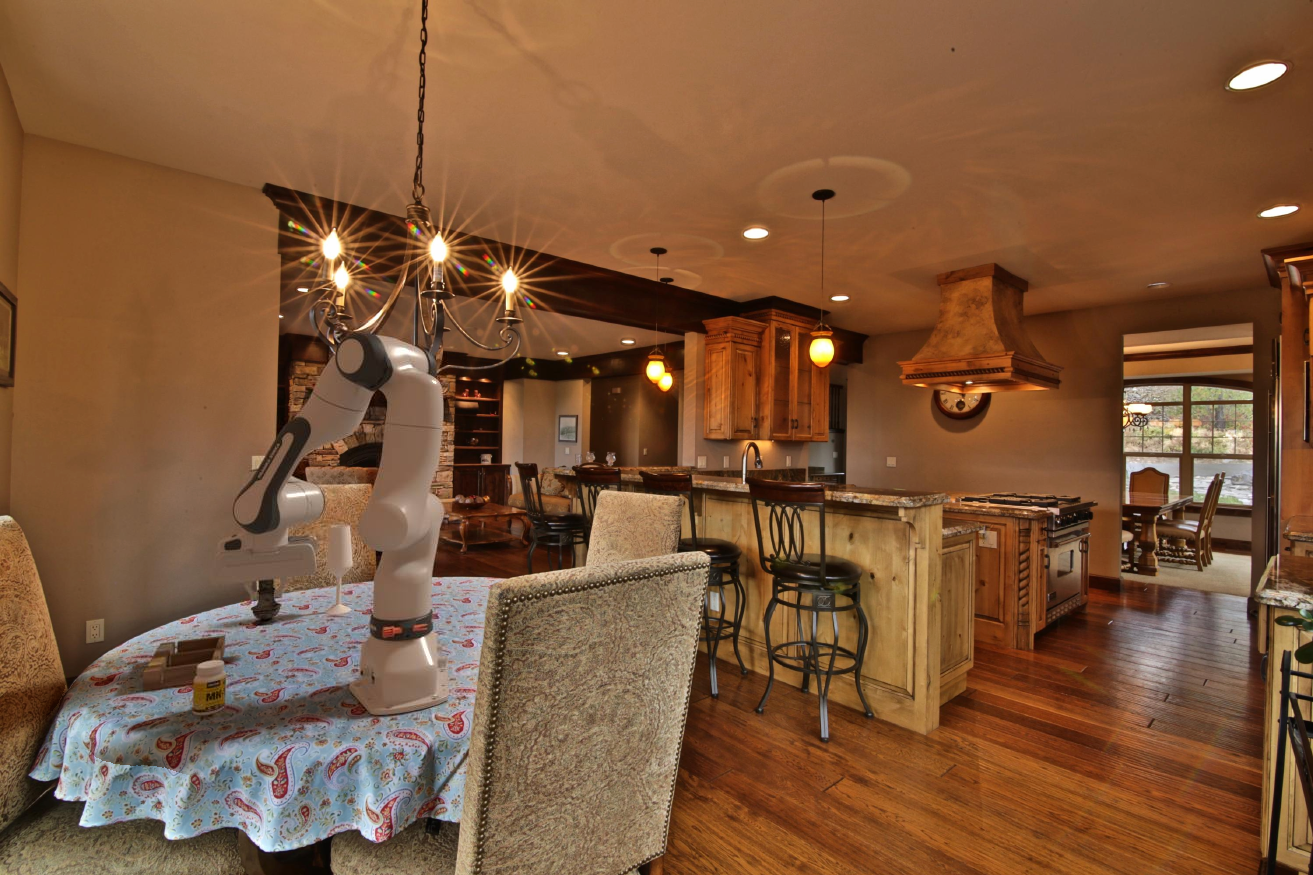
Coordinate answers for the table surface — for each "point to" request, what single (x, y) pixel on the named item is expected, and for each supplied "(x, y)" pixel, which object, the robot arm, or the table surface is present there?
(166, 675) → the divided sorting tray
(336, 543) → the champagne flute
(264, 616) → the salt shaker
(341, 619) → the table surface
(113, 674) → the table surface
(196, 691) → the supplement bottle
